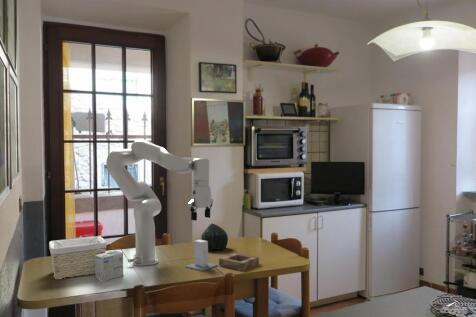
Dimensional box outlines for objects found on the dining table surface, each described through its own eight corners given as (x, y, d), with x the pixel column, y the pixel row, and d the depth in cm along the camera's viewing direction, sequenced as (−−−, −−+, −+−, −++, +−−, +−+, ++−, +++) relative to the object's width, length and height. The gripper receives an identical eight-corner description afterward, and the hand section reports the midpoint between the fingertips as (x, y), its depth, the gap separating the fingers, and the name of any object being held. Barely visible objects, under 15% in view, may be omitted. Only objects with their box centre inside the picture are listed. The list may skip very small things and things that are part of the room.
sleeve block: (242, 271, 197) (242, 263, 197) (219, 265, 205) (218, 258, 205) (258, 264, 208) (258, 257, 208) (236, 259, 216) (236, 252, 216)
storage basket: (50, 281, 182) (50, 248, 182) (48, 271, 197) (48, 240, 196) (107, 273, 193) (107, 242, 193) (101, 264, 207) (101, 235, 207)
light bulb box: (115, 273, 194) (115, 250, 194) (124, 276, 190) (123, 252, 189) (94, 278, 186) (94, 254, 185) (103, 282, 181) (102, 257, 181)
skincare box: (208, 265, 203) (208, 240, 203) (202, 267, 200) (202, 242, 200) (199, 263, 207) (199, 238, 207) (193, 265, 204) (193, 240, 204)
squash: (226, 243, 228) (226, 219, 238) (199, 244, 228) (200, 220, 238) (228, 255, 239) (228, 232, 248) (202, 256, 239) (203, 233, 249)
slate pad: (202, 271, 196) (202, 270, 196) (185, 267, 203) (185, 265, 203) (217, 265, 205) (217, 264, 205) (200, 262, 212) (200, 260, 212)
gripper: (194, 185, 193) (194, 222, 194) (218, 182, 207) (218, 217, 208) (182, 184, 198) (182, 220, 199) (207, 181, 212) (206, 215, 212)
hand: (200, 218), depth 203 cm, fingers open, 9 cm apart
